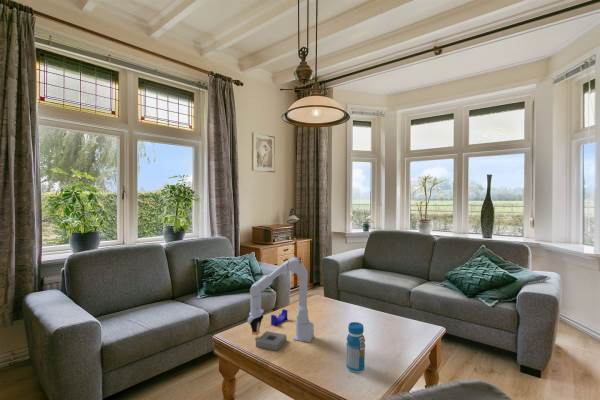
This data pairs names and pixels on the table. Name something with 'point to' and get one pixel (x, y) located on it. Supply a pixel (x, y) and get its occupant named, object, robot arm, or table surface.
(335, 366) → the table surface
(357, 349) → the beverage bottle
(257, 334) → the plug peg
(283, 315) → the cable clip
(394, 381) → the table surface
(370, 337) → the table surface
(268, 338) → the socket block
